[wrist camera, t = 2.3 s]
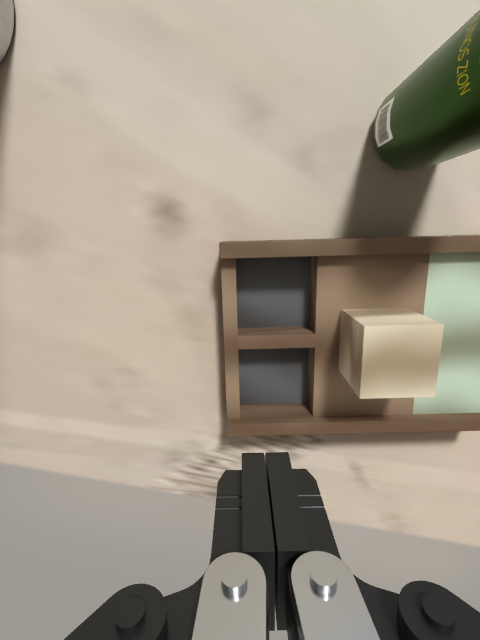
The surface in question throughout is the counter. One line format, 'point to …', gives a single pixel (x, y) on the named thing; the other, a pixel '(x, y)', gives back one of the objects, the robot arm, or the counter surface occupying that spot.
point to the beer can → (434, 106)
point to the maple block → (390, 352)
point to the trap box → (324, 331)
